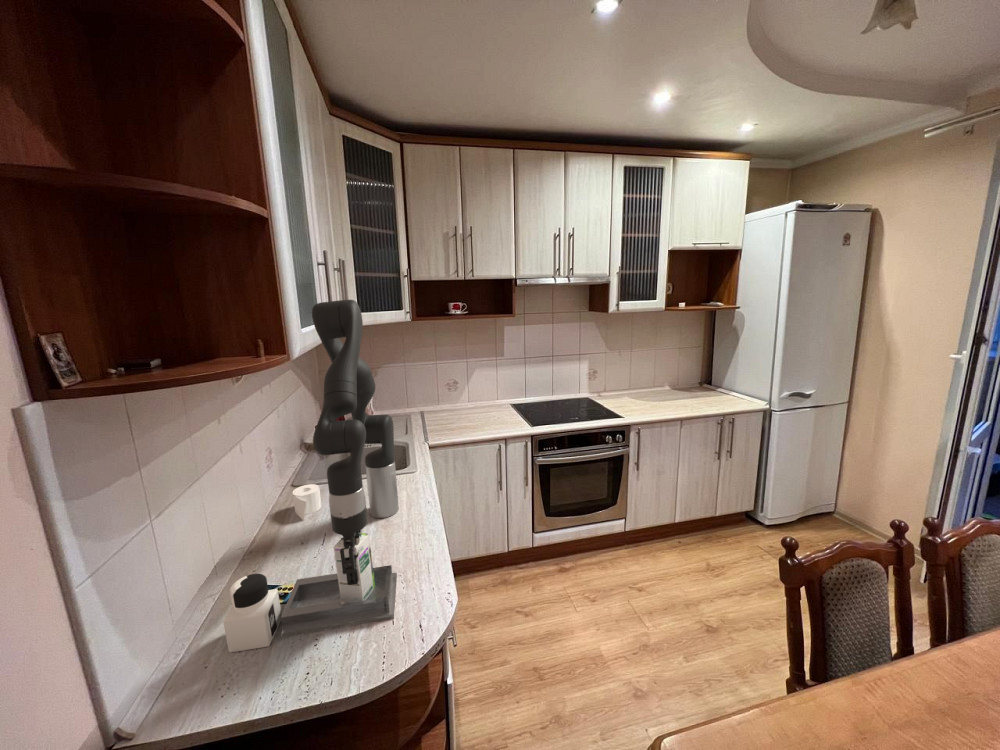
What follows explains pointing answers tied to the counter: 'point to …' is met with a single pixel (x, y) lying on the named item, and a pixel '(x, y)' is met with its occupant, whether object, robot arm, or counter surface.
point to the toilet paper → (306, 500)
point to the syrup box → (363, 569)
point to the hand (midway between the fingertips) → (355, 572)
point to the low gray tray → (336, 604)
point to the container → (252, 614)
